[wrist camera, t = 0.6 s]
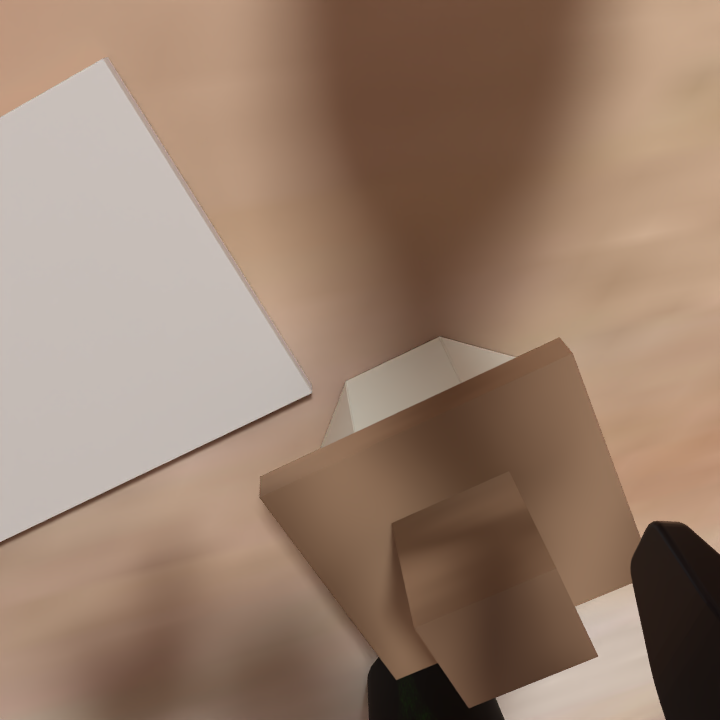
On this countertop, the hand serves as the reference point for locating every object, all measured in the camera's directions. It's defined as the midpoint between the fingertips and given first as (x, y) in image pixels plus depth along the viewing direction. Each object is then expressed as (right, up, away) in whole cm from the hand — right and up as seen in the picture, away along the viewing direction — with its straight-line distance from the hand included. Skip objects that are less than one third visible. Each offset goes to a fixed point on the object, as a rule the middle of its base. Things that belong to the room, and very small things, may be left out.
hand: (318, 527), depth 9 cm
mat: (-10, +3, +13) cm, 17 cm away
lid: (+4, -3, +14) cm, 15 cm away
